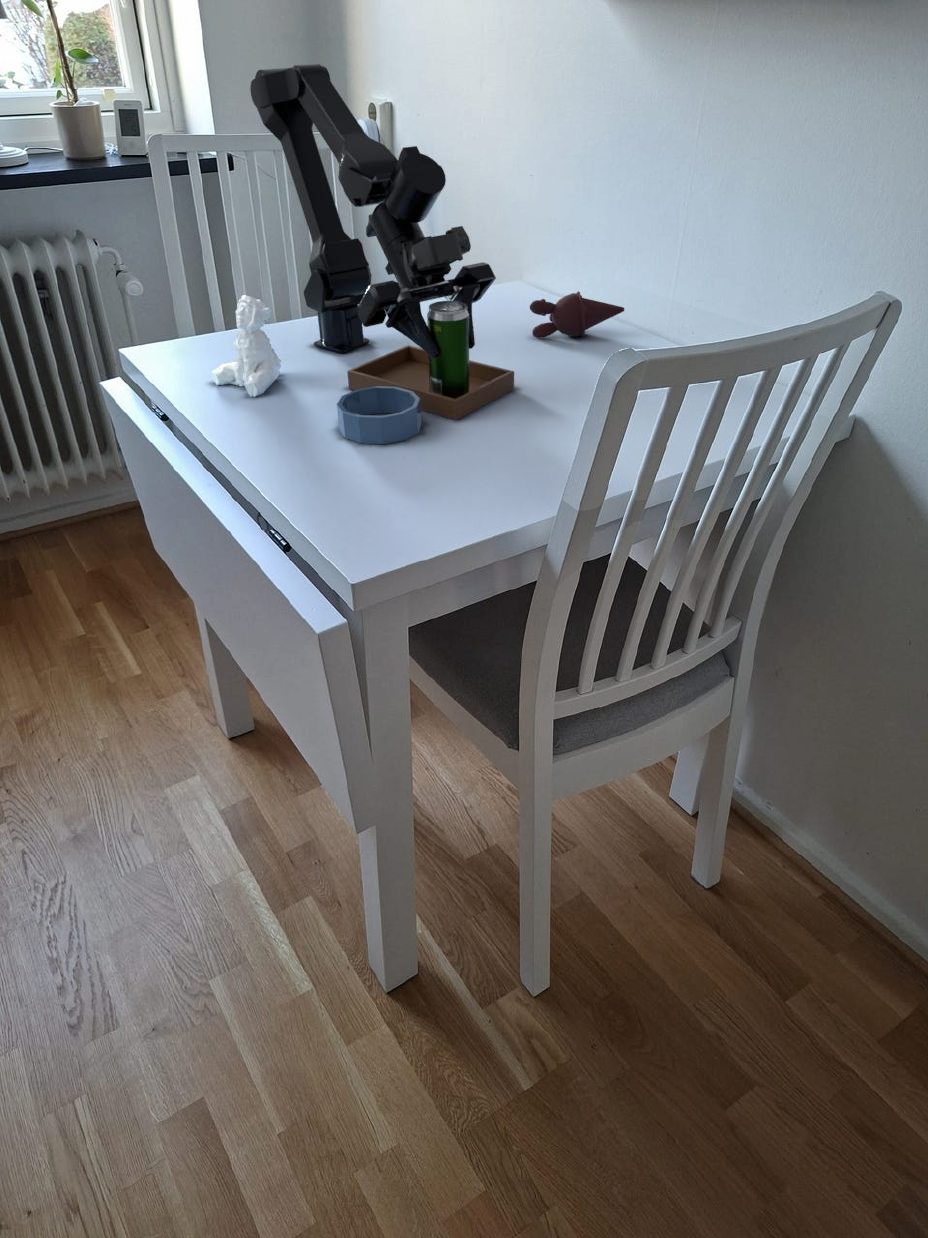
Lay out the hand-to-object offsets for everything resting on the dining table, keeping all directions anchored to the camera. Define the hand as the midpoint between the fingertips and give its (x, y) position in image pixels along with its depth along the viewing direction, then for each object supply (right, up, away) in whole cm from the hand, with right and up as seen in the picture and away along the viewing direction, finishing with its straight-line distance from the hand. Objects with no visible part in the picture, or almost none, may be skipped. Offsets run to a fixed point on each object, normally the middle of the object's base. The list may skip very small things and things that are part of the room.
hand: (454, 351), depth 113 cm
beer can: (-1, -5, +5) cm, 7 cm away
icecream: (+19, +11, +27) cm, 35 cm away
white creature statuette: (-29, -1, +12) cm, 31 cm away
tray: (-3, -2, +9) cm, 10 cm away
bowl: (-10, -10, -2) cm, 14 cm away
